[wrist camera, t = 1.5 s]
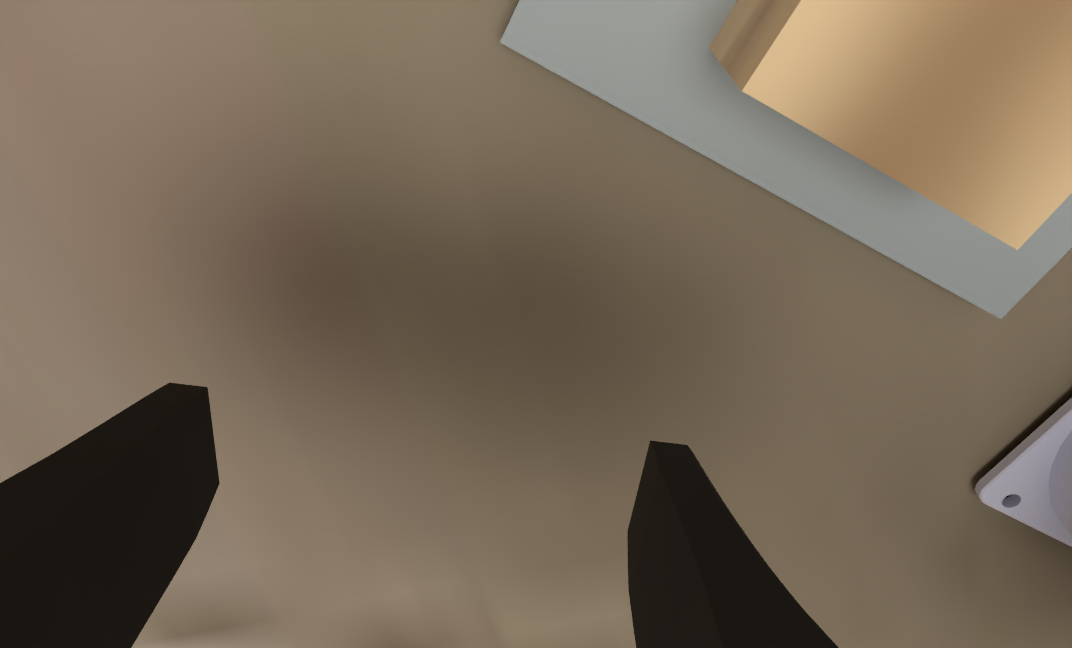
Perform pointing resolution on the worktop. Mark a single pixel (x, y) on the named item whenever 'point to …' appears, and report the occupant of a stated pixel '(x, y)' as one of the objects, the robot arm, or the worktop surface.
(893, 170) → the oak block
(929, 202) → the board
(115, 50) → the worktop surface
